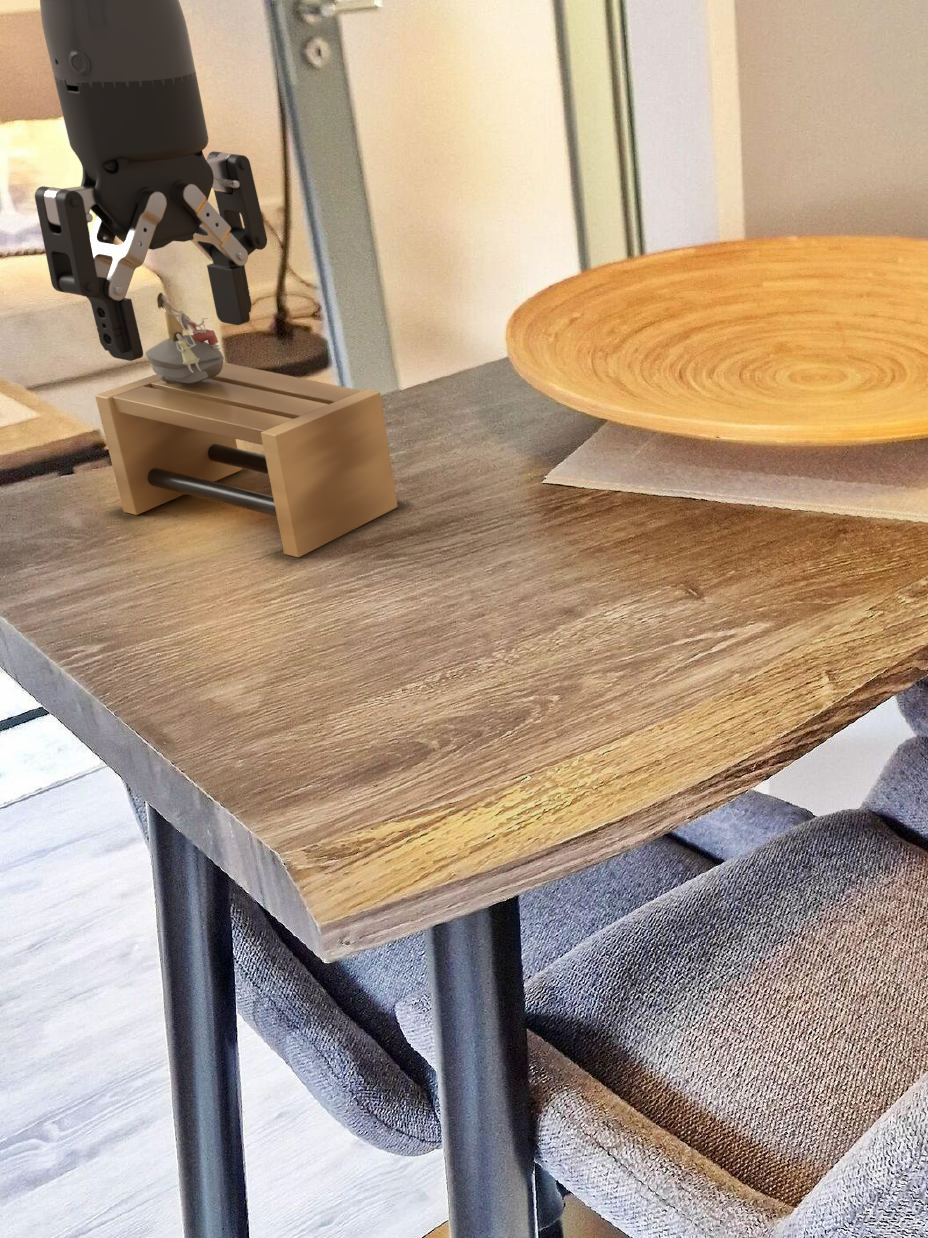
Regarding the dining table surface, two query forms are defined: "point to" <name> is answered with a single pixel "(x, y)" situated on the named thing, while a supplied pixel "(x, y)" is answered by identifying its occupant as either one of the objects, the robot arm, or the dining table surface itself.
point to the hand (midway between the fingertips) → (182, 339)
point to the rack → (263, 414)
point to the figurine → (185, 350)
